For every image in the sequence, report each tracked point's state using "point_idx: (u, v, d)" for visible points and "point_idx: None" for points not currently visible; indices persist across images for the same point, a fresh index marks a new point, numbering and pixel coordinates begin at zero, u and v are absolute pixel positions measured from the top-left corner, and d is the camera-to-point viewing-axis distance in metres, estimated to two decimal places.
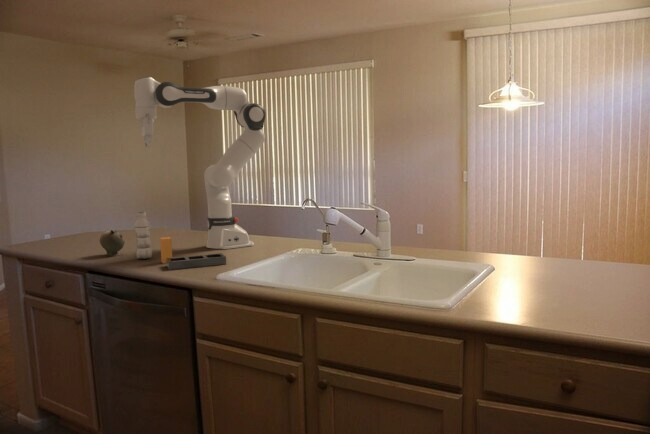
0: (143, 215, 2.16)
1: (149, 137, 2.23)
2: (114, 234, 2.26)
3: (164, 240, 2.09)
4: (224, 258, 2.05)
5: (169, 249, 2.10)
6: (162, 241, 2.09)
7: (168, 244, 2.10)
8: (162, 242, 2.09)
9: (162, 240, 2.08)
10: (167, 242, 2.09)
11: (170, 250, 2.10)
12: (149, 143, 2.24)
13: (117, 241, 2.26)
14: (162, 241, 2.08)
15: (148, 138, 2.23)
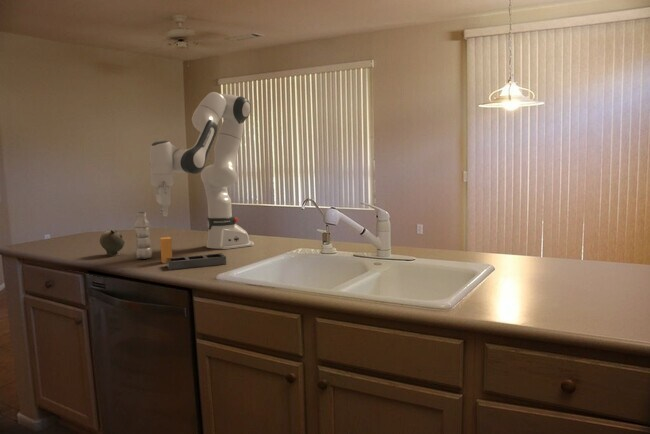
0: (143, 215, 2.16)
1: (166, 207, 2.03)
2: (114, 234, 2.26)
3: (164, 240, 2.09)
4: (224, 258, 2.05)
5: (169, 249, 2.10)
6: (162, 241, 2.09)
7: (168, 244, 2.10)
8: (162, 242, 2.09)
9: (162, 240, 2.08)
10: (167, 242, 2.09)
11: (170, 250, 2.10)
12: (165, 213, 2.05)
13: (117, 241, 2.26)
14: (162, 241, 2.08)
15: (165, 208, 2.03)
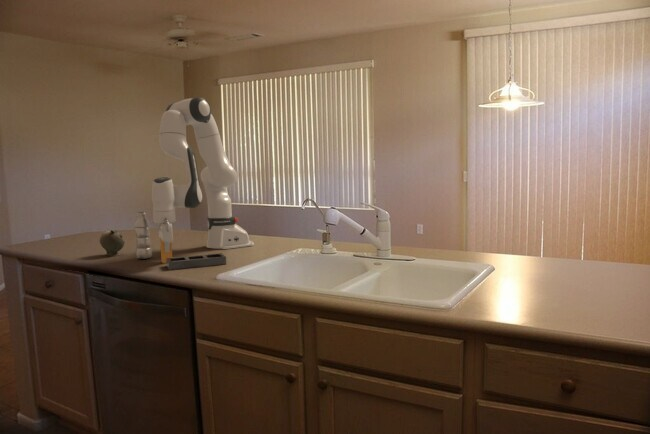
0: (143, 215, 2.16)
1: (167, 243, 2.07)
2: (114, 234, 2.26)
3: None
4: (224, 258, 2.05)
5: (169, 249, 2.10)
6: (162, 241, 2.09)
7: None
8: (162, 242, 2.09)
9: None
10: None
11: (170, 250, 2.10)
12: (167, 249, 2.08)
13: (117, 241, 2.26)
14: (162, 241, 2.08)
15: (166, 244, 2.07)
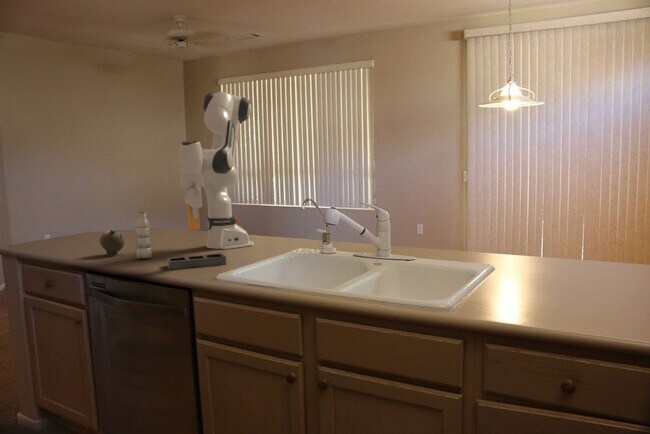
0: (143, 215, 2.16)
1: (196, 209, 1.98)
2: (114, 234, 2.26)
3: None
4: (224, 258, 2.05)
5: None
6: (190, 206, 2.00)
7: None
8: (190, 207, 2.00)
9: None
10: None
11: (198, 216, 2.01)
12: (195, 215, 1.99)
13: (117, 241, 2.26)
14: (189, 206, 2.00)
15: (194, 210, 1.98)
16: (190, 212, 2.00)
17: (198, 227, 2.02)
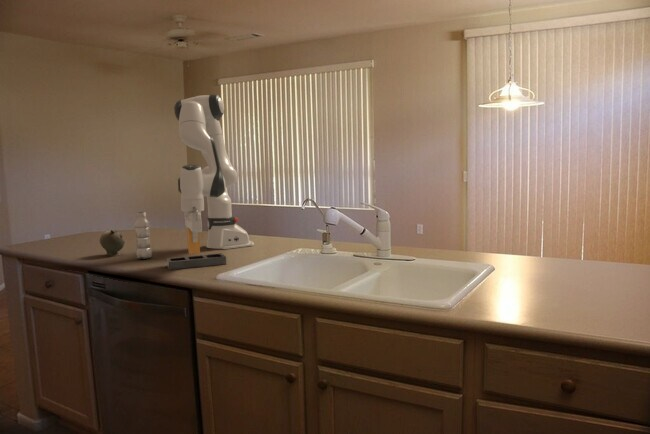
0: (143, 215, 2.16)
1: (196, 233, 1.99)
2: (114, 234, 2.26)
3: None
4: (224, 258, 2.05)
5: None
6: (190, 231, 2.01)
7: None
8: (190, 232, 2.01)
9: None
10: None
11: (198, 240, 2.02)
12: (195, 239, 2.00)
13: (117, 241, 2.26)
14: (189, 231, 2.01)
15: (194, 234, 1.99)
16: (190, 236, 2.01)
17: (198, 251, 2.03)
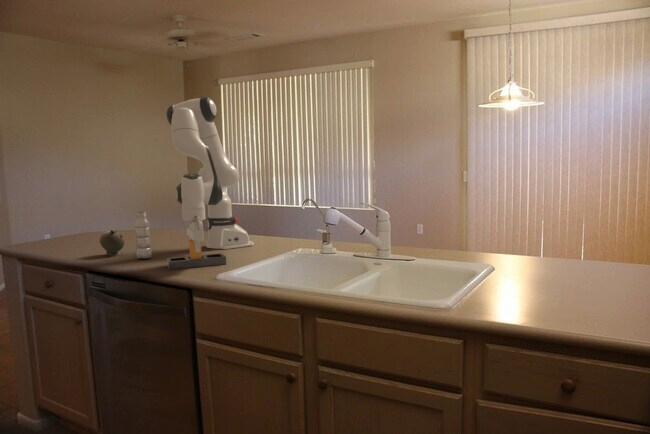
0: (143, 215, 2.16)
1: (198, 242, 1.98)
2: (114, 234, 2.26)
3: None
4: (224, 258, 2.05)
5: (199, 252, 2.03)
6: (192, 243, 2.01)
7: None
8: (192, 244, 2.01)
9: (192, 242, 2.01)
10: None
11: (200, 253, 2.03)
12: (198, 249, 2.00)
13: (117, 241, 2.26)
14: (191, 243, 2.01)
15: (197, 244, 1.99)
16: (192, 249, 2.02)
17: None
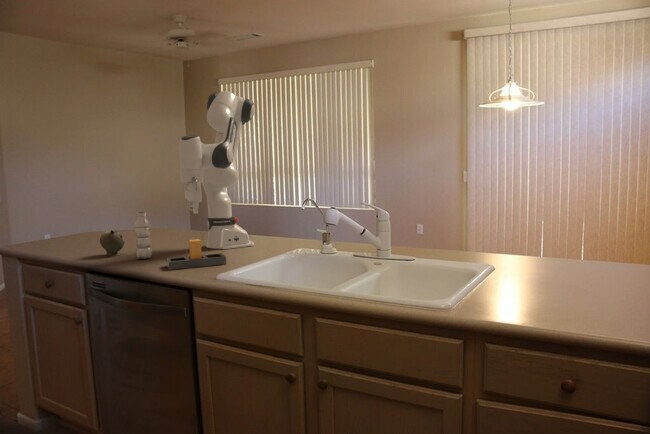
0: (143, 215, 2.16)
1: (196, 204, 1.96)
2: (114, 234, 2.26)
3: (194, 242, 2.02)
4: (224, 258, 2.05)
5: (199, 252, 2.03)
6: (192, 243, 2.01)
7: (197, 246, 2.02)
8: (191, 244, 2.01)
9: (192, 242, 2.01)
10: (197, 244, 2.02)
11: (200, 253, 2.03)
12: (196, 210, 1.98)
13: (117, 241, 2.26)
14: (191, 243, 2.01)
15: (195, 205, 1.96)
16: (192, 249, 2.02)
17: None
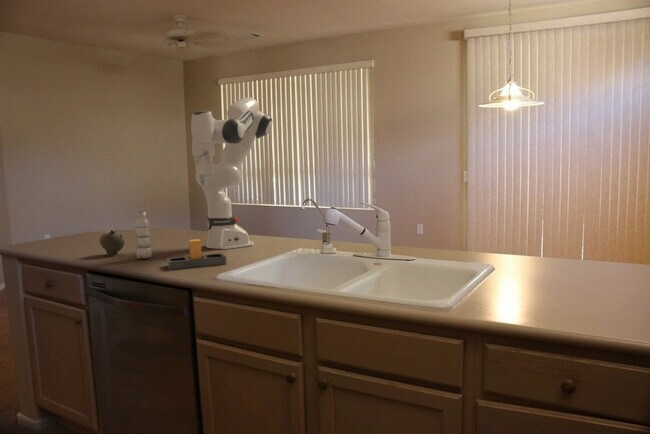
0: (143, 215, 2.16)
1: (208, 177, 2.03)
2: (114, 234, 2.26)
3: (194, 242, 2.02)
4: (224, 258, 2.05)
5: (199, 252, 2.03)
6: (191, 243, 2.01)
7: (197, 246, 2.02)
8: (191, 244, 2.01)
9: (191, 242, 2.01)
10: (197, 244, 2.02)
11: (200, 253, 2.03)
12: (208, 183, 2.04)
13: (117, 241, 2.26)
14: (191, 243, 2.01)
15: (207, 178, 2.03)
16: (192, 249, 2.02)
17: None
